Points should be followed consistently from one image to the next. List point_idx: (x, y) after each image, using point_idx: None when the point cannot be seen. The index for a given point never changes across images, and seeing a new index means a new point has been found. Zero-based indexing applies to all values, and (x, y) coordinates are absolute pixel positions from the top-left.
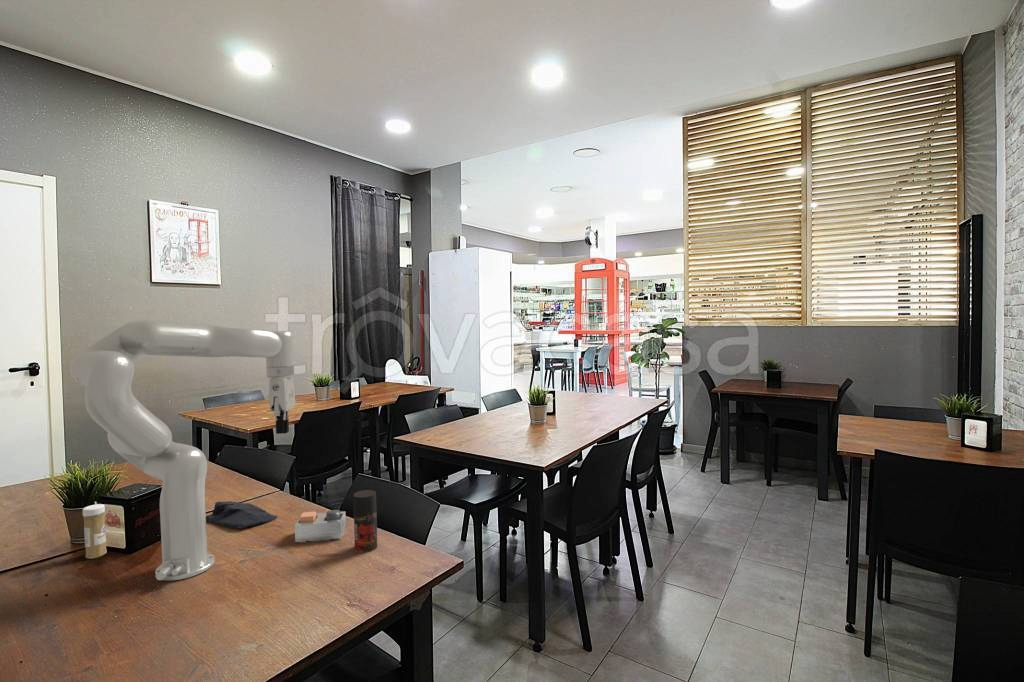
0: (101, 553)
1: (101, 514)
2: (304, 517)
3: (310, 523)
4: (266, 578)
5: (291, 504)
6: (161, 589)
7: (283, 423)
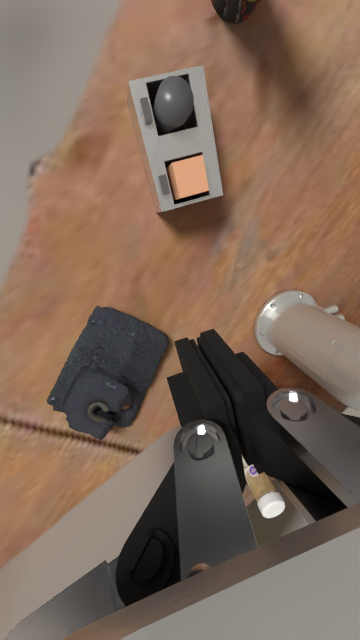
0: None
1: (269, 490)
2: (206, 178)
3: (213, 158)
4: (328, 178)
5: (16, 324)
6: None
7: (271, 383)
